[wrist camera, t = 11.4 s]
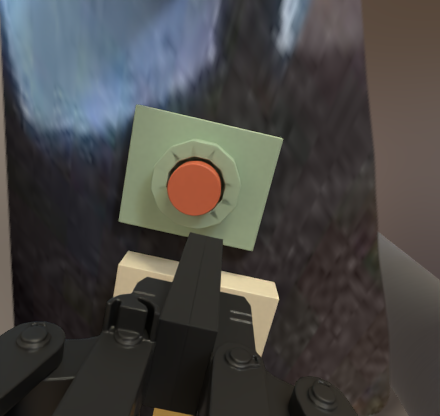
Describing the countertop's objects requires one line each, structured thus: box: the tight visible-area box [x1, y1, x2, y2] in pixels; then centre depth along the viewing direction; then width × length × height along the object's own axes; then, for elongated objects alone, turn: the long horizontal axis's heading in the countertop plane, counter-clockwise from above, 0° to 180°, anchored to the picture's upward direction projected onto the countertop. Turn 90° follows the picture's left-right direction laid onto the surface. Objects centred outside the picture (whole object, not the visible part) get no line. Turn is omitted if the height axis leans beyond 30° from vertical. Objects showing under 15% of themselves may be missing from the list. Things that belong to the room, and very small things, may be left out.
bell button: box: [167, 161, 221, 216], centre depth 26 cm, size 4×4×2 cm
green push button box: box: [119, 105, 283, 251], centre depth 28 cm, size 12×10×3 cm
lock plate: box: [113, 251, 279, 357], centre depth 31 cm, size 14×10×3 cm
